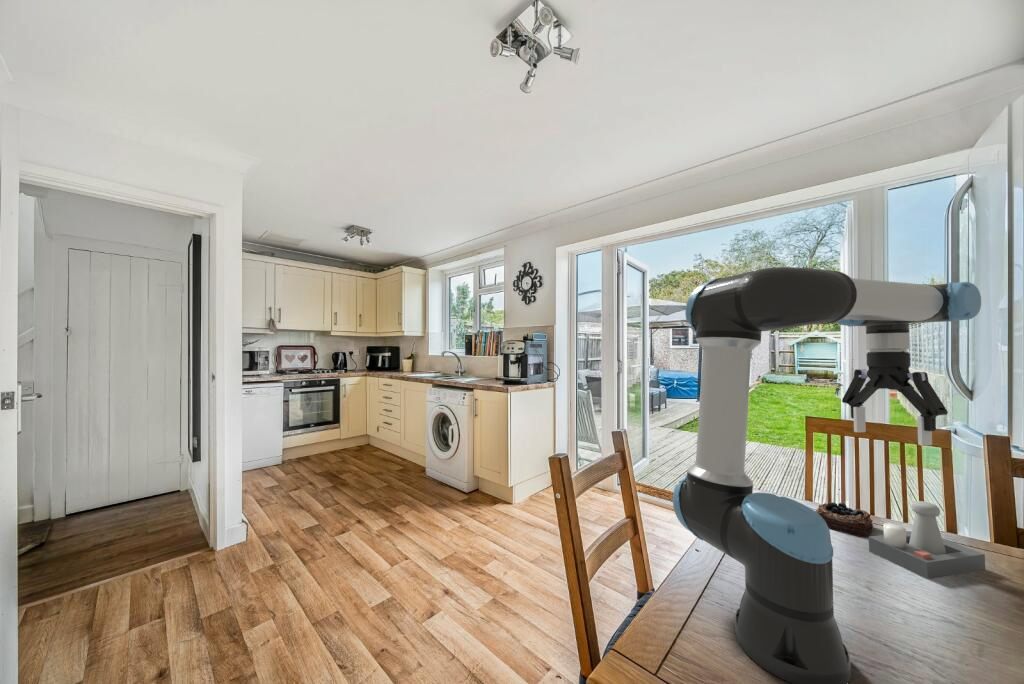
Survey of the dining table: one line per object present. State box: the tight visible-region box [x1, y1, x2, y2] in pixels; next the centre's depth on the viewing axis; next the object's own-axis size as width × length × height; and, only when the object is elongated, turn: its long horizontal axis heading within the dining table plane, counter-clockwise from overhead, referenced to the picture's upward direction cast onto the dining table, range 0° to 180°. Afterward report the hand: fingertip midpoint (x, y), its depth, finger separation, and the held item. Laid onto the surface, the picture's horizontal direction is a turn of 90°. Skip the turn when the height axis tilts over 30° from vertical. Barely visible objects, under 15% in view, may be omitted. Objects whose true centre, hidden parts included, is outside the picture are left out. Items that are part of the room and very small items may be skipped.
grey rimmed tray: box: [868, 522, 986, 580], centre depth 85 cm, size 16×11×8 cm
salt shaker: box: [909, 500, 947, 555], centre depth 85 cm, size 6×6×13 cm
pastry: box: [814, 502, 874, 538], centre depth 102 cm, size 11×12×6 cm
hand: (890, 438), depth 90 cm, fingers open, 13 cm apart
